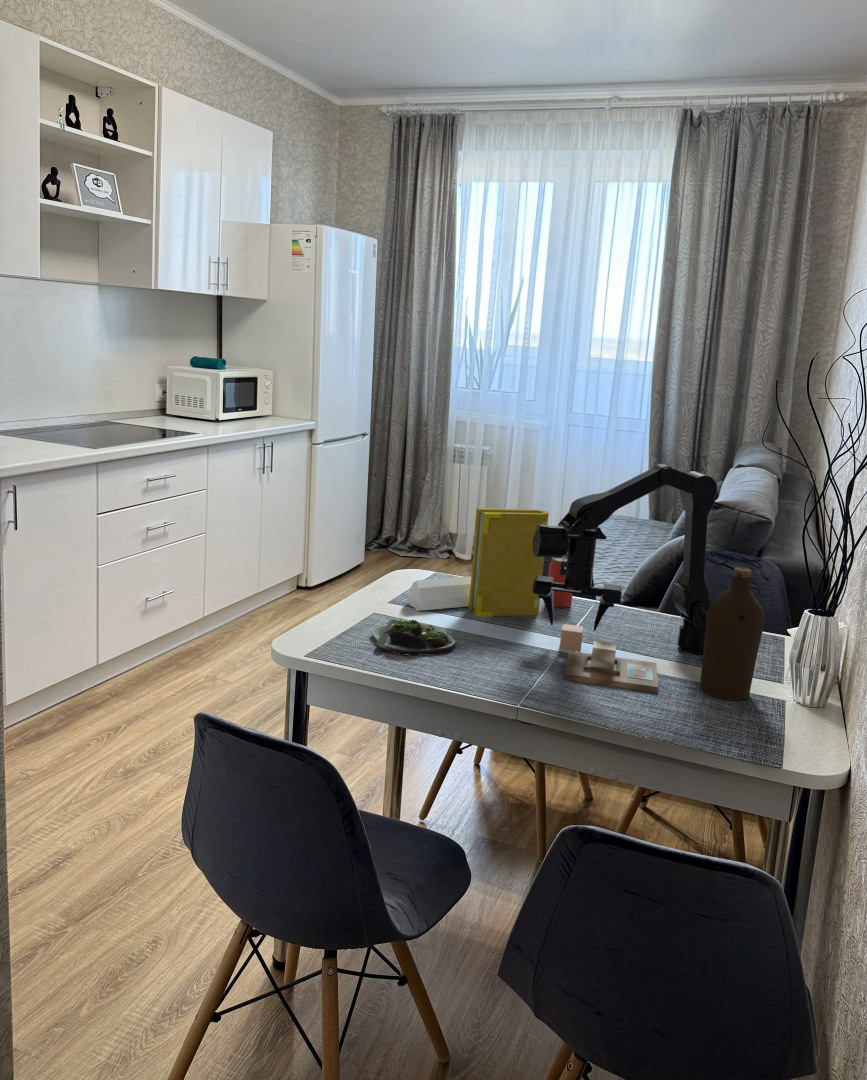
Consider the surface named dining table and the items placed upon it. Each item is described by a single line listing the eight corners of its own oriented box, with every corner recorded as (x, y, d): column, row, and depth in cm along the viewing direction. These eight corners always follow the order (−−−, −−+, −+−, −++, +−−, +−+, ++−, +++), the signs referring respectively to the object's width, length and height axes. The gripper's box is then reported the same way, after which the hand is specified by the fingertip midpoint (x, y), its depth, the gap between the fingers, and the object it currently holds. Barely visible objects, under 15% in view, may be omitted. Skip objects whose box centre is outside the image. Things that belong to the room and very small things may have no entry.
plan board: (655, 668, 186) (656, 659, 185) (657, 692, 172) (659, 683, 172) (568, 656, 189) (569, 647, 189) (564, 679, 176) (565, 669, 175)
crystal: (418, 600, 208) (504, 592, 220) (407, 578, 213) (492, 572, 224) (409, 621, 213) (494, 613, 225) (399, 599, 218) (482, 592, 229)
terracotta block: (581, 646, 197) (583, 626, 196) (580, 652, 192) (582, 632, 191) (560, 643, 197) (562, 623, 196) (559, 649, 193) (561, 630, 192)
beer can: (563, 610, 222) (568, 563, 219) (540, 604, 226) (545, 558, 223) (575, 605, 227) (580, 559, 224) (553, 599, 231) (558, 554, 228)
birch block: (613, 664, 183) (615, 643, 182) (613, 671, 178) (615, 650, 177) (591, 661, 183) (593, 640, 182) (590, 668, 179) (592, 647, 178)
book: (476, 616, 212) (485, 513, 206) (468, 608, 218) (476, 508, 212) (542, 615, 216) (553, 514, 211) (532, 607, 223) (542, 509, 217)
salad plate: (356, 628, 198) (357, 608, 197) (432, 625, 204) (433, 606, 203) (381, 659, 180) (382, 637, 179) (463, 654, 186) (464, 634, 185)
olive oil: (764, 699, 173) (784, 575, 167) (721, 704, 169) (740, 577, 163) (726, 679, 182) (744, 561, 177) (685, 683, 178) (702, 563, 173)
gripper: (625, 554, 196) (617, 622, 200) (540, 545, 200) (534, 611, 203) (625, 566, 186) (616, 637, 189) (535, 556, 189) (528, 626, 193)
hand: (573, 627), depth 194 cm, fingers open, 9 cm apart
